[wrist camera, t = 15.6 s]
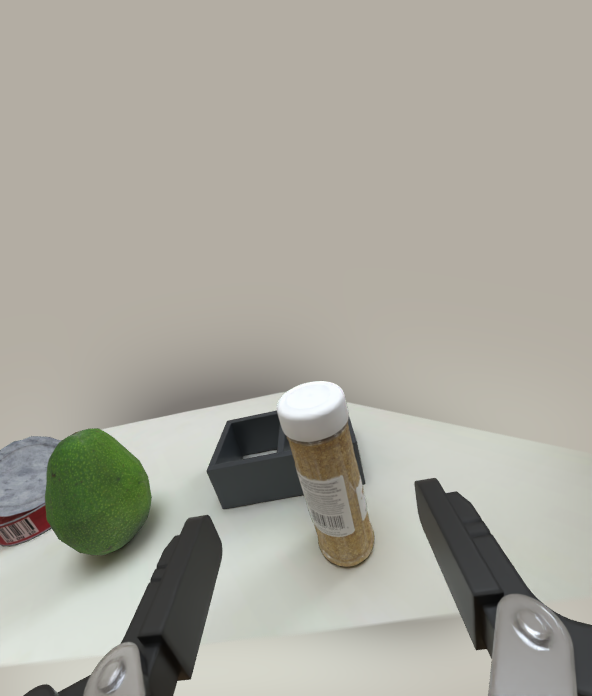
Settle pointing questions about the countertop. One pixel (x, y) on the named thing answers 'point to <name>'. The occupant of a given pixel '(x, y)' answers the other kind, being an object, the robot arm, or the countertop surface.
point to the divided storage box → (257, 462)
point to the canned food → (24, 489)
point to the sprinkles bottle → (328, 469)
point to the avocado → (95, 493)
